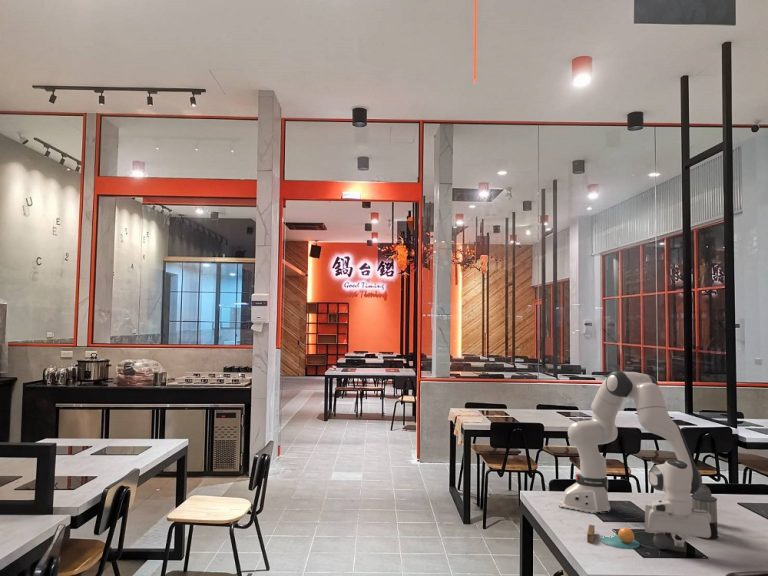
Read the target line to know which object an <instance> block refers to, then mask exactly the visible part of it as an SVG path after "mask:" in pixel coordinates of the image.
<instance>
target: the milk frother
mask: <svg viewBox="0 0 768 576" xmlns="http://www.w3.org/2000/svg"><path fill="white" fill-rule="evenodd" d="M690 495H691V498H692V508H693V509H699V510H706V511H707V512H709V513H710V514H711V522H710V523H709V524H710V529H711V536H710V537H709V538H704V537H697V536H695V537H697V538H700V539H704V540H709V541H710V540H718V539H719V538H720V536H719V530H718V510H717V509H718V507H717V506H718V505H717V501H718V498H717V497H715V496H710V495H703V494H693V495H692V494H690ZM700 513H701V512H700Z"/></svg>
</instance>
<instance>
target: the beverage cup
mask: <svg viewBox="0 0 768 576" xmlns="http://www.w3.org/2000/svg"><path fill="white" fill-rule="evenodd" d="M693 494H703V495H710V496H712V492H711V489H710V488H709V486H707V484H703V483H702V485H701V487H700V488H699V490H698V491H696V492H695V493H691V495H693Z"/></svg>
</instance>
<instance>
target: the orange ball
mask: <svg viewBox="0 0 768 576" xmlns="http://www.w3.org/2000/svg"><path fill="white" fill-rule="evenodd" d="M617 535H618V536H619V539H620V540H621V541H622V542H624V543H631V542H632V541H633V539H634V540H635V534H634V531H633V530H632V529H631V528H629V527H625V526H623V527H621V528H619V530H618V532H617Z"/></svg>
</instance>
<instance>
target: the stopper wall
mask: <svg viewBox="0 0 768 576" xmlns="http://www.w3.org/2000/svg"><path fill="white" fill-rule="evenodd" d="M595 528H596V527H595V524H588V528H587V533H586V534H587V535H586V537H587V539H586V541H587V543H588V542H589V544H594V539H595V534H594V533H596V531H595Z"/></svg>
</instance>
